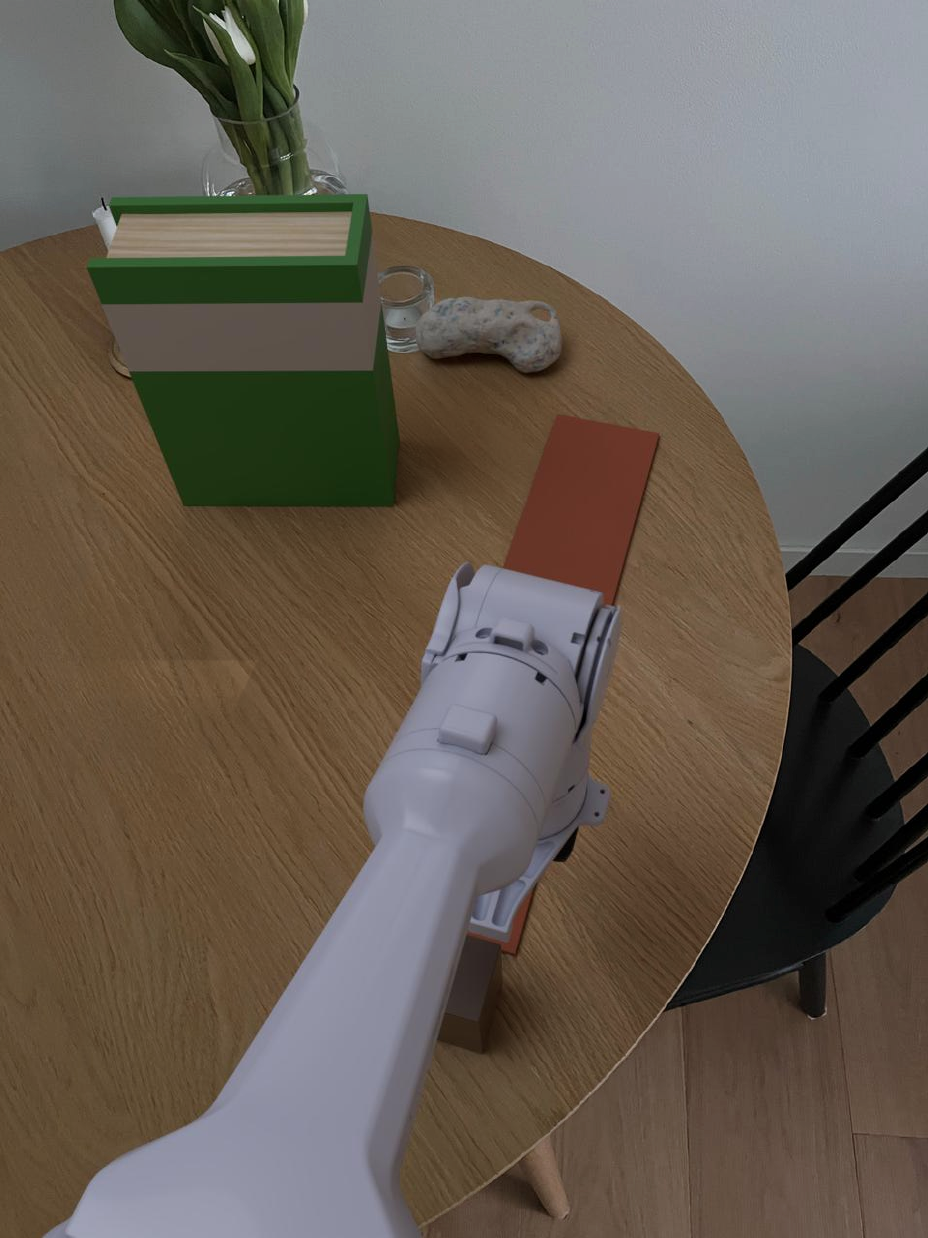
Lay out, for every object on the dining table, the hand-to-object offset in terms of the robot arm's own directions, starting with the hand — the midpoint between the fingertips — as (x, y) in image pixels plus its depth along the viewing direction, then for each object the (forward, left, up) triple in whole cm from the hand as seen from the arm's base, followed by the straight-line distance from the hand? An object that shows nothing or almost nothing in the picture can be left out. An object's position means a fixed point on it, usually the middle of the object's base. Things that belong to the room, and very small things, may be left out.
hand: (528, 845), depth 60 cm
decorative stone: (+49, +17, -11) cm, 53 cm away
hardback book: (+31, +29, -11) cm, 43 cm away
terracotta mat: (+20, +4, -10) cm, 23 cm away
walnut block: (-7, +2, -10) cm, 13 cm away
